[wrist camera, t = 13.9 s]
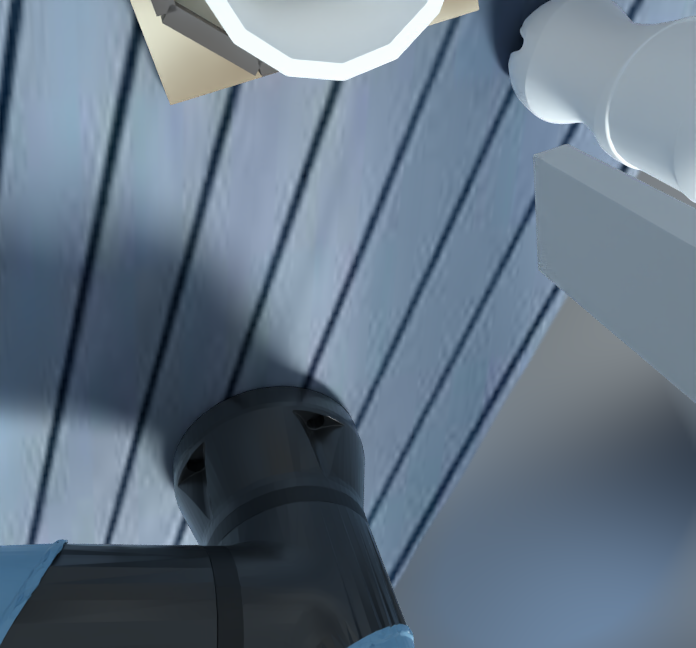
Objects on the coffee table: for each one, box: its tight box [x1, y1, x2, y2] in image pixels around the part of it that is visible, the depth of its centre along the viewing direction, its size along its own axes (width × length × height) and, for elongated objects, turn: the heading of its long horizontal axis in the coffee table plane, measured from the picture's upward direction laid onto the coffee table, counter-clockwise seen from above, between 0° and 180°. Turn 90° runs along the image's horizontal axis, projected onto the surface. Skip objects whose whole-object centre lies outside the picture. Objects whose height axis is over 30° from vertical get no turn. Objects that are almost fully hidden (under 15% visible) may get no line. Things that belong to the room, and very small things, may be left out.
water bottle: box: [508, 0, 696, 203], centre depth 30 cm, size 7×7×25 cm
